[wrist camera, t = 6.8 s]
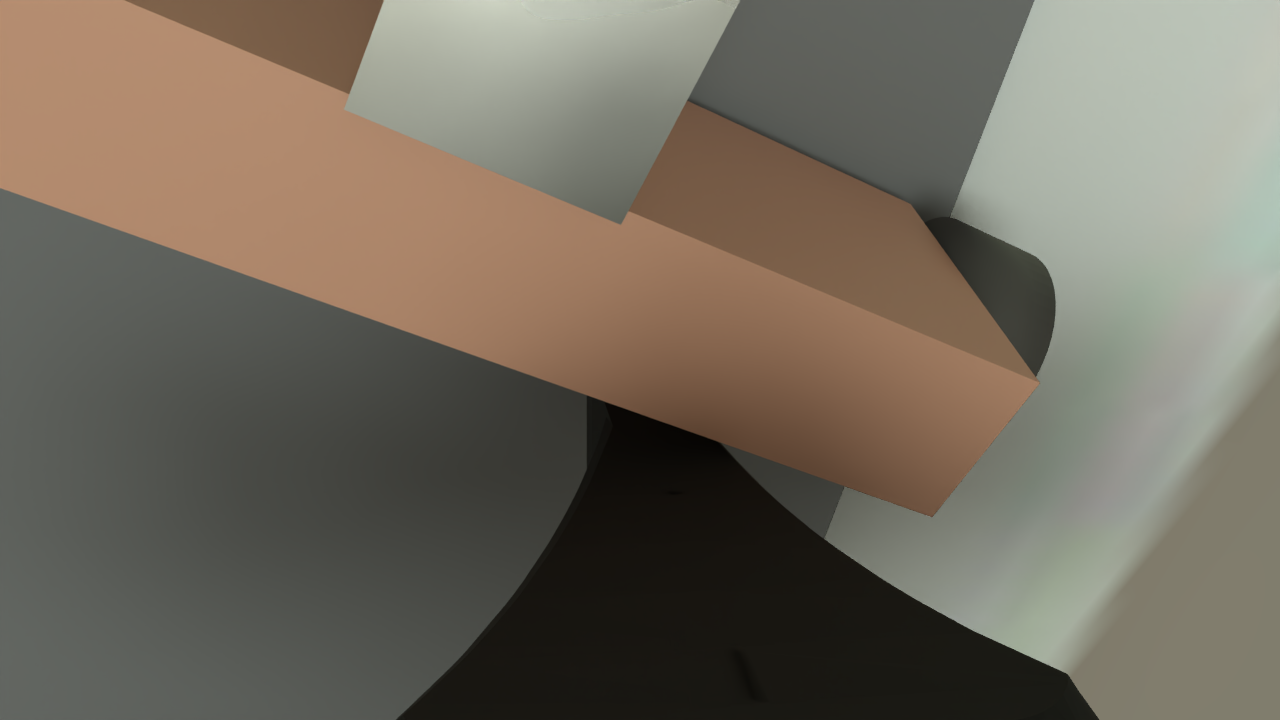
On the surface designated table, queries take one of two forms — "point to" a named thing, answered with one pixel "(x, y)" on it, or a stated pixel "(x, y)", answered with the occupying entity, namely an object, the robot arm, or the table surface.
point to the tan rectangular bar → (538, 240)
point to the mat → (362, 419)
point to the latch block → (541, 86)
